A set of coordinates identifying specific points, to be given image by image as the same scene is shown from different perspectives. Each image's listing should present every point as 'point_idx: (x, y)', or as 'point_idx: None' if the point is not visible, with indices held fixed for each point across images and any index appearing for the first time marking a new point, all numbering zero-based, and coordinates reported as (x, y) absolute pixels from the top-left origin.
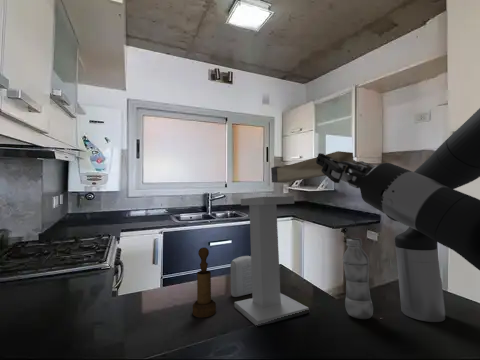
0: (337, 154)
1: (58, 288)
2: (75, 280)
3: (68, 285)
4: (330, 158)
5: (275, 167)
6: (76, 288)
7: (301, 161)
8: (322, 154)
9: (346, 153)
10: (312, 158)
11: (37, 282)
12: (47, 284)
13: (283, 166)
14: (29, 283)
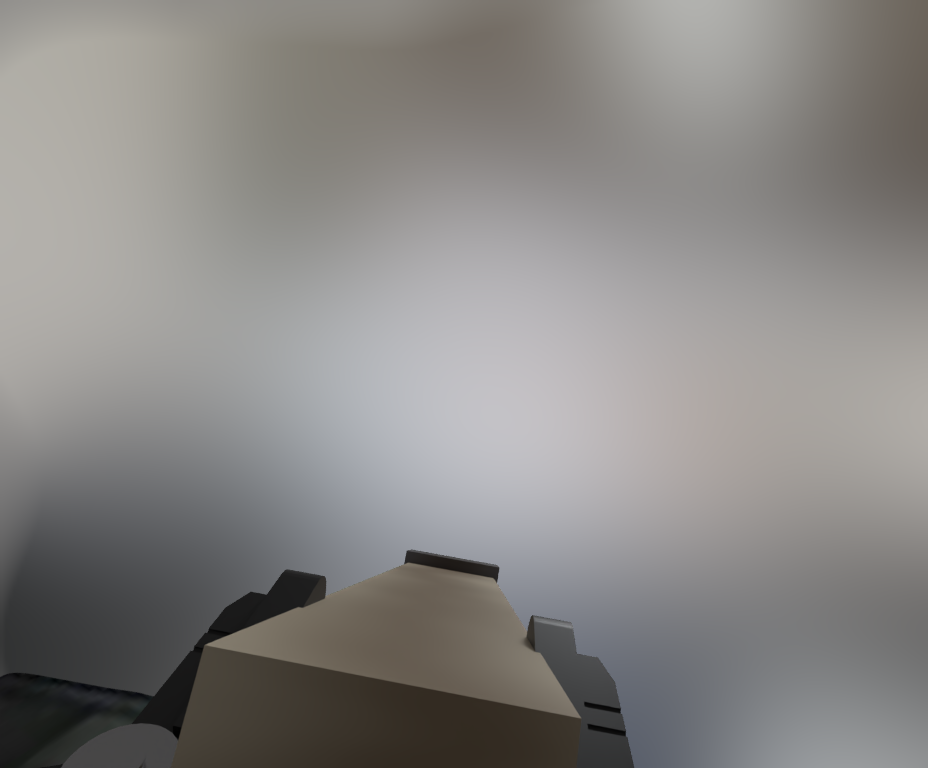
0: (197, 702)
1: (25, 741)
2: (93, 725)
3: (55, 738)
4: (117, 732)
5: (406, 555)
6: (47, 759)
7: (372, 577)
8: (266, 597)
9: (403, 717)
10: (343, 589)
11: (37, 699)
12: (37, 715)
13: (401, 565)
14: (23, 696)
